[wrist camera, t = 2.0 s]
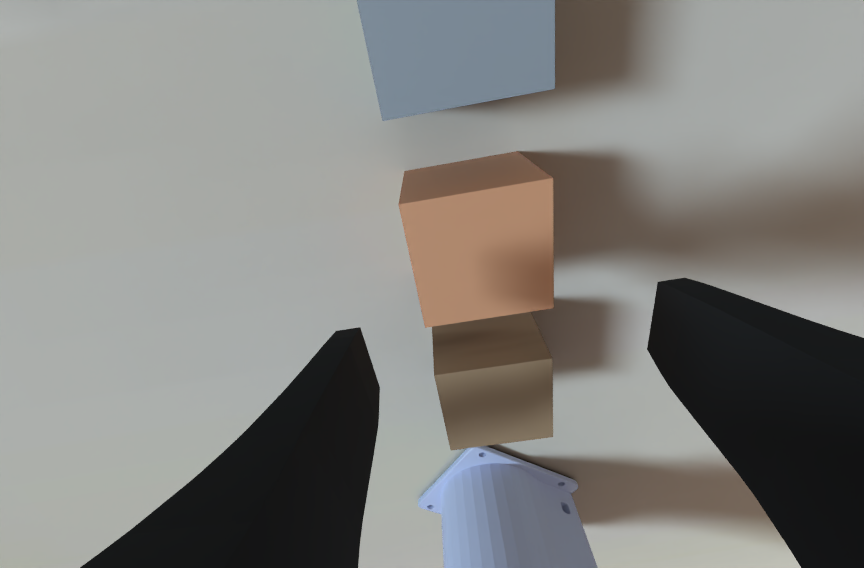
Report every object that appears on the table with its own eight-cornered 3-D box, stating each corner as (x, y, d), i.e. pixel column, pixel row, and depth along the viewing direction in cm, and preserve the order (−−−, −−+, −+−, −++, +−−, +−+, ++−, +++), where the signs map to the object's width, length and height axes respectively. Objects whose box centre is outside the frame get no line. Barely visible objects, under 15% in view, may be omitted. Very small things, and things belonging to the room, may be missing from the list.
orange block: (522, 253, 18) (553, 308, 14) (424, 269, 19) (425, 327, 14) (516, 150, 16) (553, 178, 12) (404, 170, 16) (398, 204, 12)
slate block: (514, 85, 15) (554, 89, 10) (393, 108, 15) (382, 121, 11) (507, -82, 12) (554, -169, 8) (361, -51, 13) (331, -119, 8)
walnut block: (526, 366, 22) (552, 436, 18) (444, 377, 22) (450, 450, 18) (523, 296, 20) (552, 358, 15) (431, 310, 20) (434, 375, 16)
